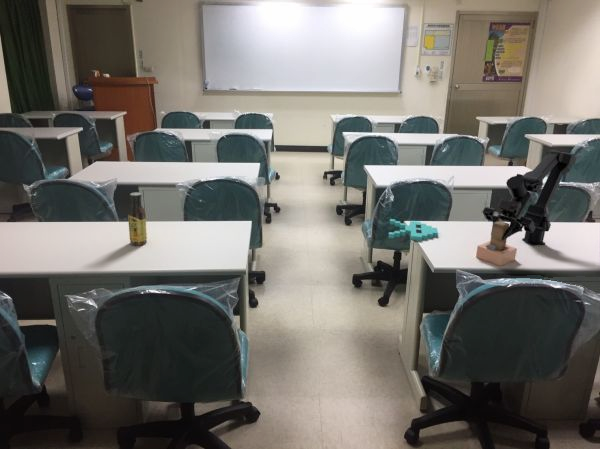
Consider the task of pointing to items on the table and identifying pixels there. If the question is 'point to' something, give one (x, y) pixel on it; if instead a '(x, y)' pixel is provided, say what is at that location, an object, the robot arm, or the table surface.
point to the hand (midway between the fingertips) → (497, 237)
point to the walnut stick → (499, 235)
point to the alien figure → (413, 230)
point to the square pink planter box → (496, 254)
